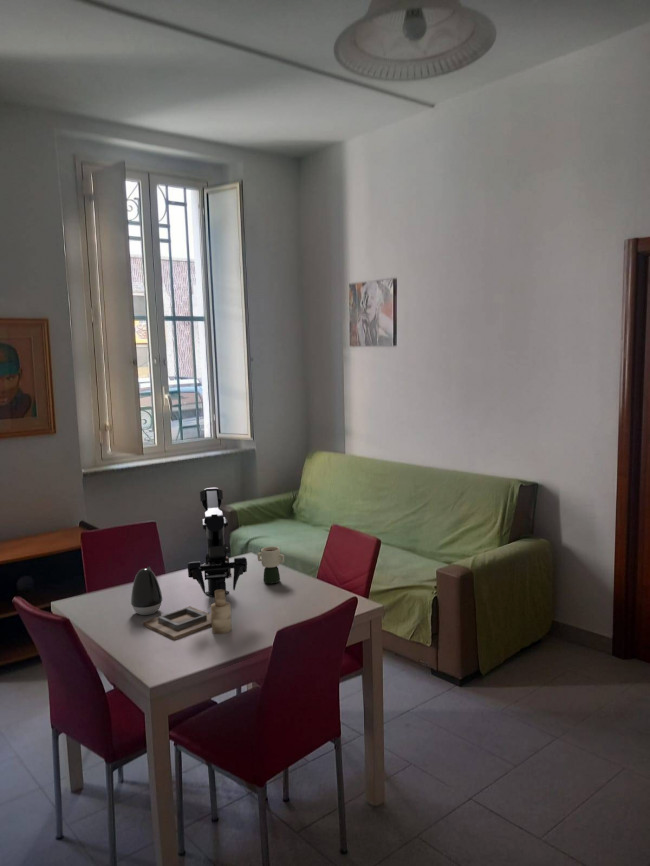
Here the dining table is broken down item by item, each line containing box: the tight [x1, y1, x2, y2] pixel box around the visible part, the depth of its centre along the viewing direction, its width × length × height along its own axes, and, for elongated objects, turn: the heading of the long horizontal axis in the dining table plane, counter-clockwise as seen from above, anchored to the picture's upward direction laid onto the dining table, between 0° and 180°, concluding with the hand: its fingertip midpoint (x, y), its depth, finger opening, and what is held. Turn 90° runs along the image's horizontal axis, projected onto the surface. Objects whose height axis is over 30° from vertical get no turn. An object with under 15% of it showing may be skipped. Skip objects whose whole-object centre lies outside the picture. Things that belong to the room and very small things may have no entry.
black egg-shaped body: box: [130, 566, 163, 616], centre depth 223 cm, size 10×10×15 cm
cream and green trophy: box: [257, 545, 285, 584], centre depth 249 cm, size 11×7×13 cm, turn 71°
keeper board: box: [142, 605, 212, 641], centre depth 212 cm, size 18×18×2 cm
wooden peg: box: [210, 589, 232, 635], centre depth 205 cm, size 6×6×12 cm
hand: (219, 591), depth 208 cm, fingers open, 9 cm apart
